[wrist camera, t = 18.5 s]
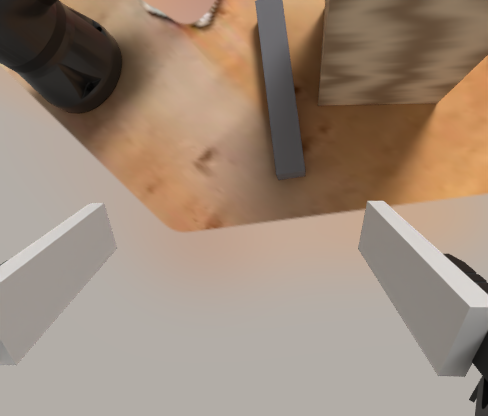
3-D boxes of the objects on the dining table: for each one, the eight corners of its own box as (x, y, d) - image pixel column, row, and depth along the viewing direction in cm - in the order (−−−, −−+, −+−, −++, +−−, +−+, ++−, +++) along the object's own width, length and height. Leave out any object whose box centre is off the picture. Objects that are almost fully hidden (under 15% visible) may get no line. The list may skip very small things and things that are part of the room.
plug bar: (278, 180, 35) (276, 174, 32) (259, 21, 38) (255, 0, 34) (305, 176, 34) (305, 170, 31) (283, 15, 37) (281, -7, 34)
